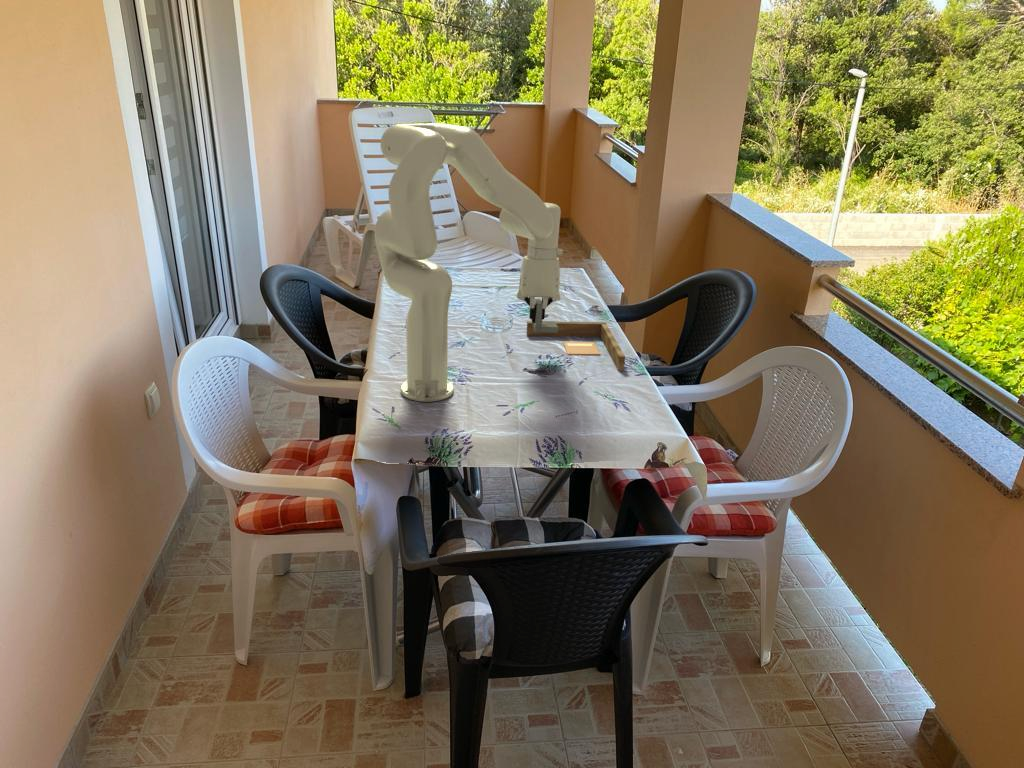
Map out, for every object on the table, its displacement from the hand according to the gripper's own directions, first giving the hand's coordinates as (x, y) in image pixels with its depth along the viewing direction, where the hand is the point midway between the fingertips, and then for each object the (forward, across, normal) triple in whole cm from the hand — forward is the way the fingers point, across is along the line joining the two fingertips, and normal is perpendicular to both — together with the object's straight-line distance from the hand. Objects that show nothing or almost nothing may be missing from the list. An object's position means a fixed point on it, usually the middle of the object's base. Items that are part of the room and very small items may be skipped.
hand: (536, 321), depth 196 cm
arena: (+10, -11, -5) cm, 16 cm away
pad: (+10, -14, -7) cm, 18 cm away
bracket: (+2, -2, 0) cm, 3 cm away
